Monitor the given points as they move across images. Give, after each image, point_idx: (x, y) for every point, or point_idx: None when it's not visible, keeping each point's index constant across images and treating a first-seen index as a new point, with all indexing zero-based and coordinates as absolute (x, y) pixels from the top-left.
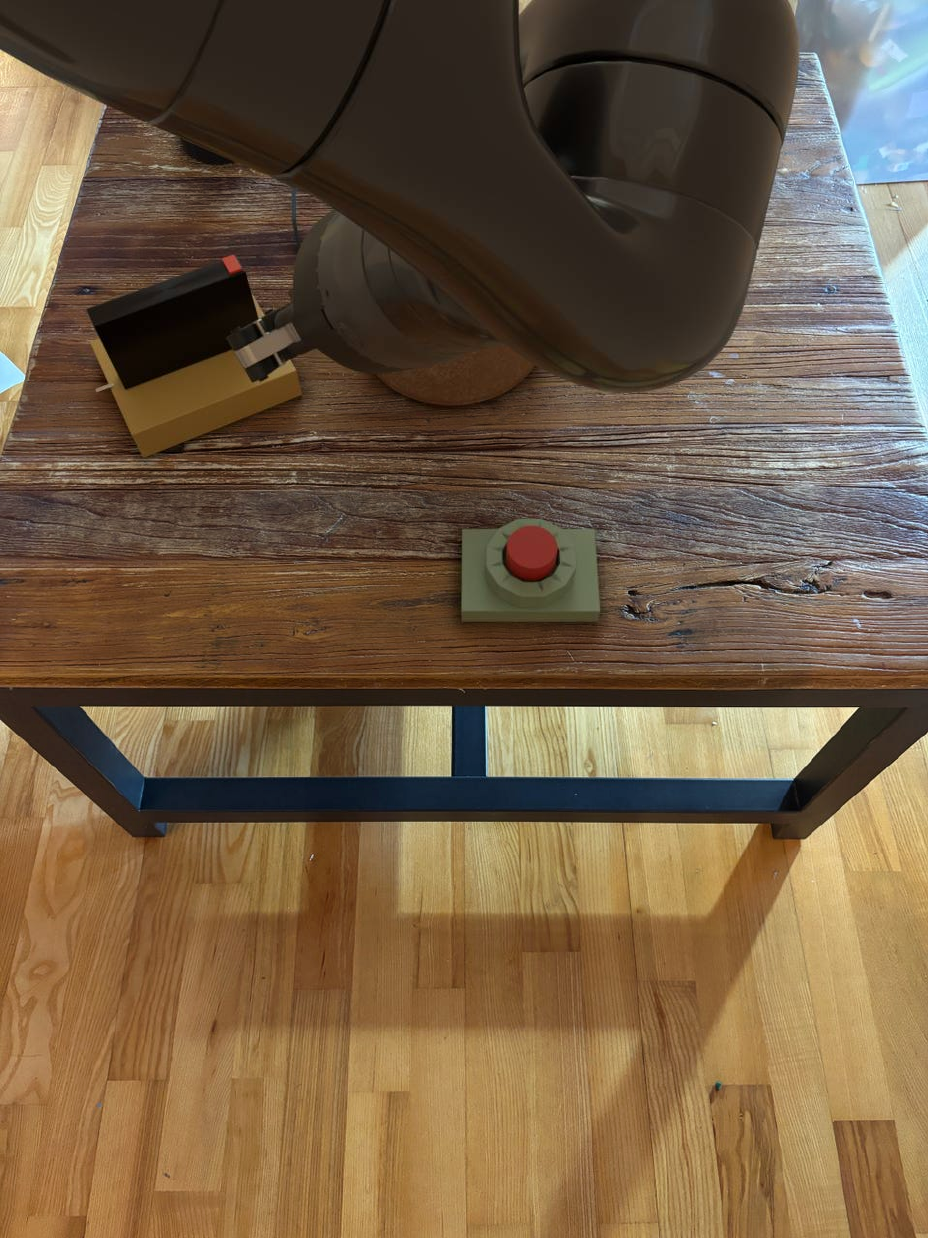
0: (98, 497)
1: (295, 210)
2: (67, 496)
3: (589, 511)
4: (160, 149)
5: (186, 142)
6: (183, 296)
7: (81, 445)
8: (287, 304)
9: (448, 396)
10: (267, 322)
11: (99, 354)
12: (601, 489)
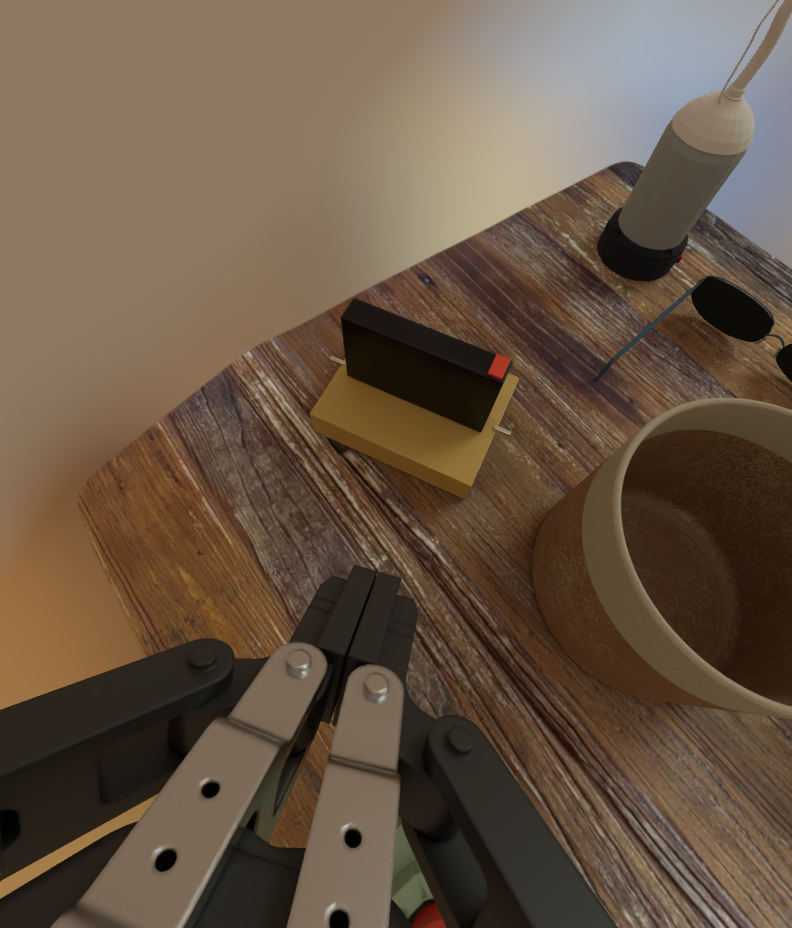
0: (257, 429)
1: (622, 353)
2: (244, 407)
3: None
4: (583, 227)
5: (603, 235)
6: (431, 356)
7: (294, 381)
8: (260, 672)
9: (566, 645)
10: (66, 762)
11: None
12: (607, 910)
